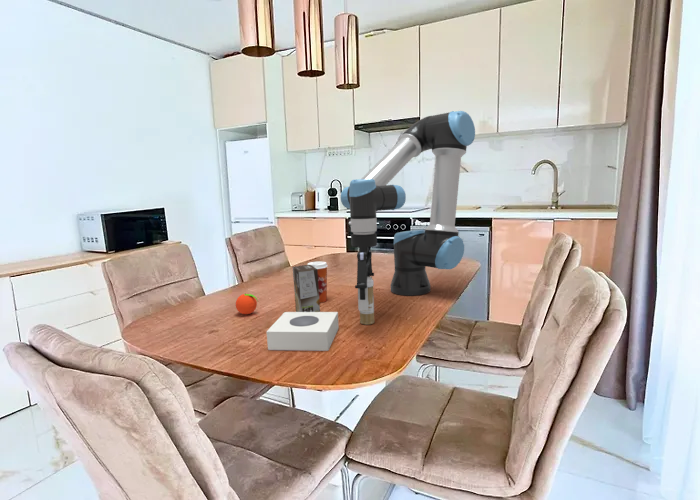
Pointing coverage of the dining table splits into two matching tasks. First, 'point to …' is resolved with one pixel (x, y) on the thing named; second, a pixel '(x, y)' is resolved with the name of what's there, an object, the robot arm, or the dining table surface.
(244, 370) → the dining table surface
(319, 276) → the paper cup
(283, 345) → the plinth
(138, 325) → the dining table surface
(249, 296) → the clementine
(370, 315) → the sprinkles bottle
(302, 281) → the coffee box
